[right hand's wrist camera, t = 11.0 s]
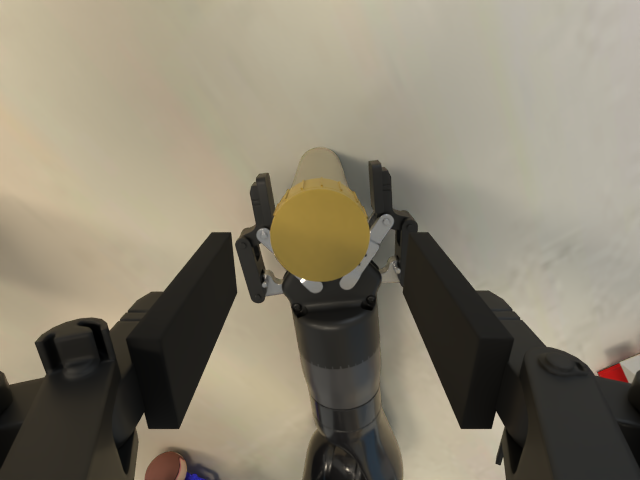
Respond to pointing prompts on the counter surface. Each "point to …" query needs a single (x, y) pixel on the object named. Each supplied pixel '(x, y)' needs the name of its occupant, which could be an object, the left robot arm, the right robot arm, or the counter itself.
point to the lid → (320, 230)
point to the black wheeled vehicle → (169, 468)
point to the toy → (623, 370)
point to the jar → (319, 166)
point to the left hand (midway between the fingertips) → (317, 168)
